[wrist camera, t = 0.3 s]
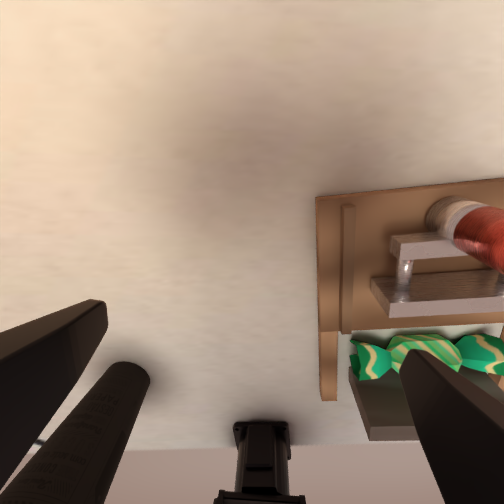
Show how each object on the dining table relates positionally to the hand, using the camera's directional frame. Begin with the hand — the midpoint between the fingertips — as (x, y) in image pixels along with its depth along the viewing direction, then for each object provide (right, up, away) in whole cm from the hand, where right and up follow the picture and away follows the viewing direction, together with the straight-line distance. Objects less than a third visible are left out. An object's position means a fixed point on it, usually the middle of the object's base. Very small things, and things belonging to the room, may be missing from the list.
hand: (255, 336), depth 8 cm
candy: (+15, -6, +17) cm, 24 cm away
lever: (+14, +3, +11) cm, 18 cm away
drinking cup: (-14, -11, +21) cm, 28 cm away
